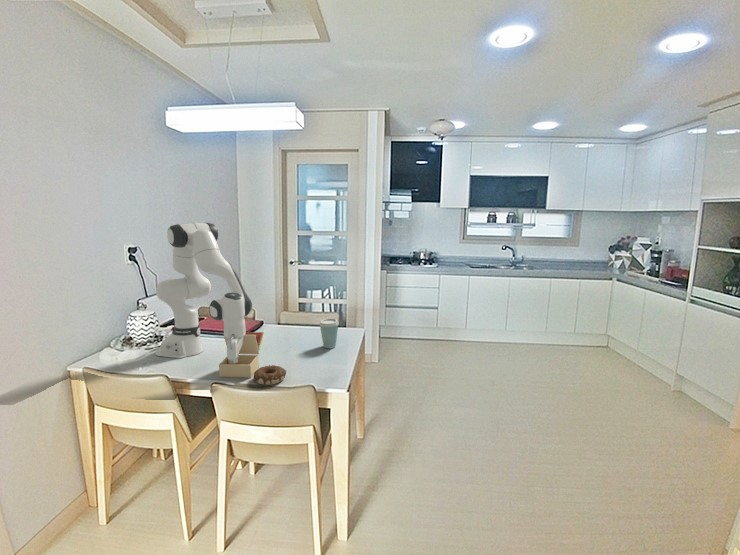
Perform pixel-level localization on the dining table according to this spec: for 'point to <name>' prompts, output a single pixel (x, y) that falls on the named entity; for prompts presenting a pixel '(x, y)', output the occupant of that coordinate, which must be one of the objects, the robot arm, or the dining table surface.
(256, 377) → the donut
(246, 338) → the lid
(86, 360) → the dining table surface
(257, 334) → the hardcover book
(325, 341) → the disposable coffee cup
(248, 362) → the box
